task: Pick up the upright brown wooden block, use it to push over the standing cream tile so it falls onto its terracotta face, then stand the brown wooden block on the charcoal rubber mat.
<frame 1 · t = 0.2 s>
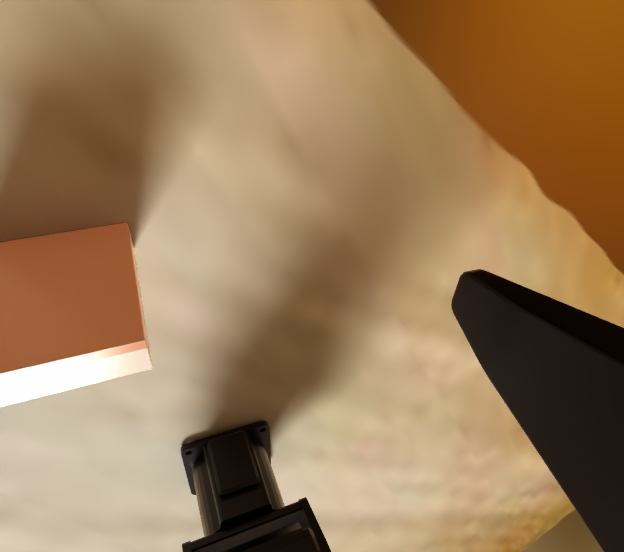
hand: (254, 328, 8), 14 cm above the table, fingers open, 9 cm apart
tile: (62, 247, 21), on the table
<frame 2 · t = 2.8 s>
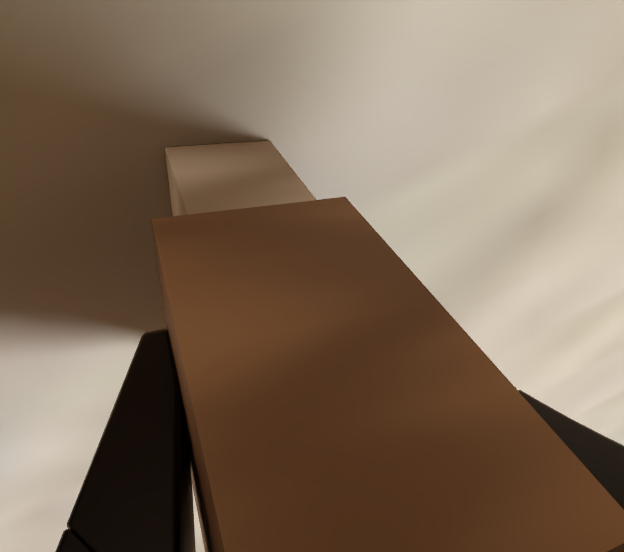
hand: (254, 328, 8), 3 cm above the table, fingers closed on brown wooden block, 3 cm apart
brown wooden block: (223, 252, 10), on the table, touching gripper
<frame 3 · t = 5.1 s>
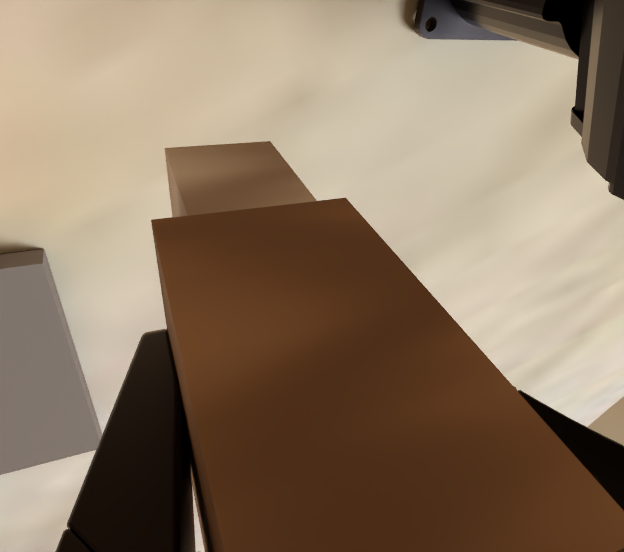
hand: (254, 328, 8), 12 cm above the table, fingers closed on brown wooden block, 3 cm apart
brown wooden block: (223, 253, 10), point 9 cm above the table, touching gripper
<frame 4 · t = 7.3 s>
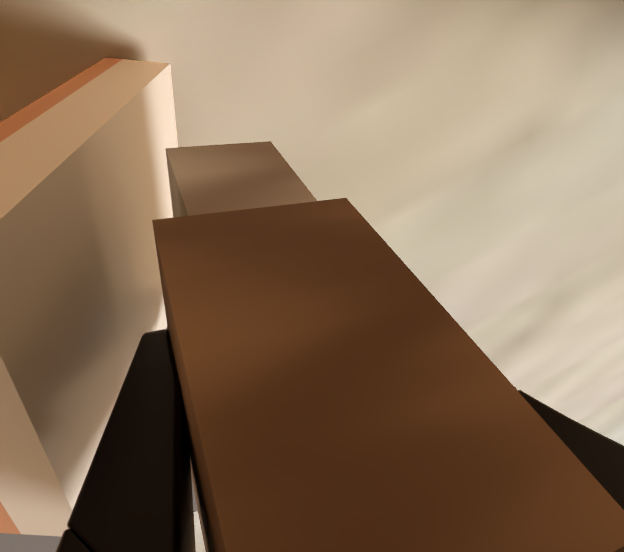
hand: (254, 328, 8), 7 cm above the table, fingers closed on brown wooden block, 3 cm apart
tile: (153, 178, 13), on the table, tilted 22°
rest mat: (109, 436, 19), on the table
brown wooden block: (224, 253, 10), point 4 cm above the table, touching gripper
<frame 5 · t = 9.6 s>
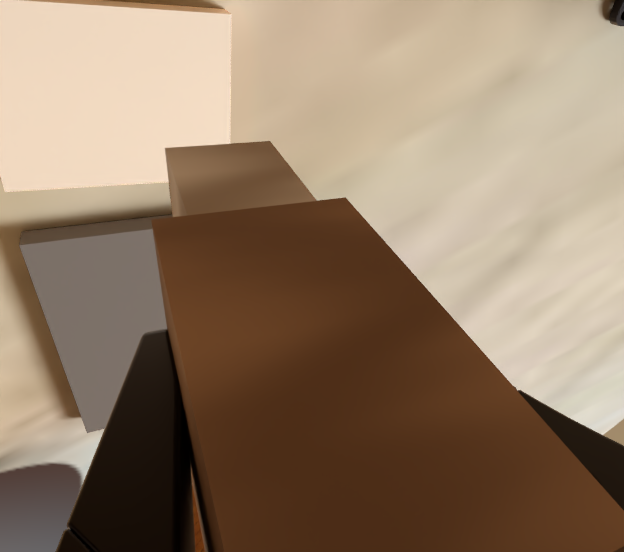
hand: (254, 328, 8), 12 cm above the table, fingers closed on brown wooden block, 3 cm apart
tile: (225, 98, 18), on the table, tilted 90°
disposable coffee cup: (182, 507, 35), on the table
rest mat: (189, 315, 24), on the table
brown wooden block: (223, 253, 10), point 10 cm above the table, touching gripper
when the fingers open (5 cm above the table, at t = 11.9 s): brown wooden block drops 1 cm, resting on rest mat.
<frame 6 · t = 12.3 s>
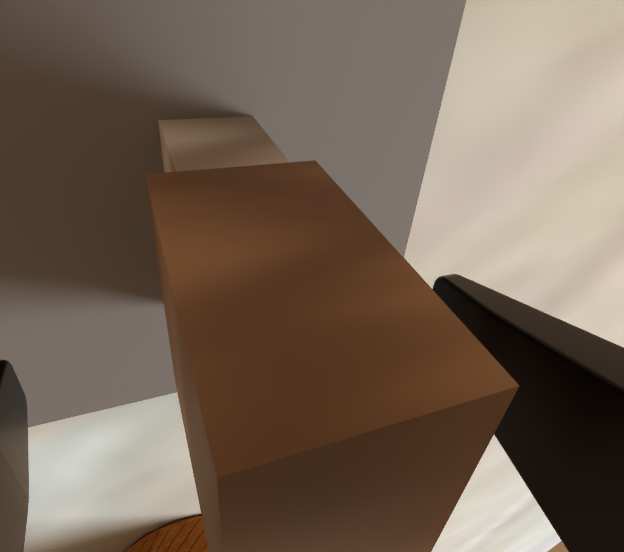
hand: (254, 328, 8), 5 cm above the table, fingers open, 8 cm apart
disposable coffee cup: (183, 546, 23), on the table
rest mat: (201, 201, 12), on the table
brown wooden block: (212, 219, 11), point 1 cm above the table, touching rest mat
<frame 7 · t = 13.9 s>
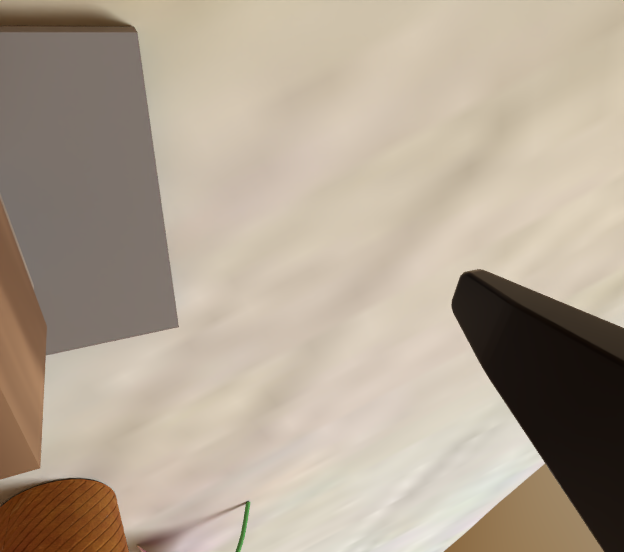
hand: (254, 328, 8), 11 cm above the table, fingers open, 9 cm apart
lily: (198, 528, 34), on the table
disposable coffee cup: (57, 509, 27), on the table
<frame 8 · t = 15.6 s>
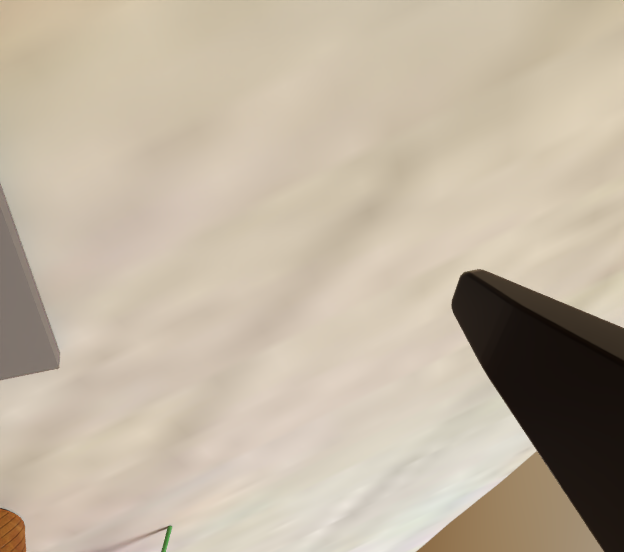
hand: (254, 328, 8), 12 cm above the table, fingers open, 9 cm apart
lily: (120, 551, 35), on the table
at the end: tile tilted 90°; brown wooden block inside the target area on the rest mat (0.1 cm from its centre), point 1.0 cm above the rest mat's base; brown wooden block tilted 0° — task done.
